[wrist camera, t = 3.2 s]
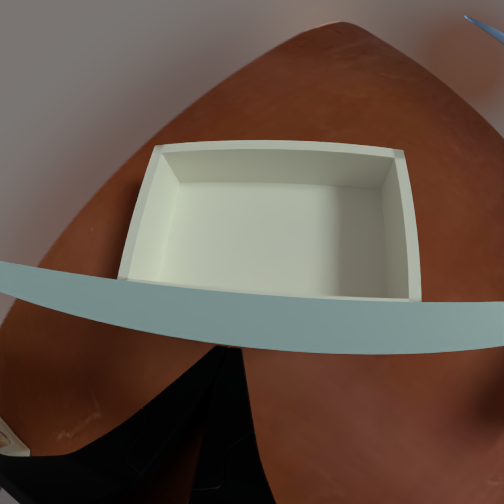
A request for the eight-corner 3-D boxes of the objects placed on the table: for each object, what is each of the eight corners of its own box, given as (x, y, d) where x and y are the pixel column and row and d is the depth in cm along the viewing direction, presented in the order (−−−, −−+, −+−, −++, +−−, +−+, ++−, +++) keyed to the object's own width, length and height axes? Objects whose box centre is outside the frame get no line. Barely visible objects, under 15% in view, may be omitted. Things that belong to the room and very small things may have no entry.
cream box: (392, 323, 18) (421, 313, 14) (150, 303, 21) (115, 289, 17) (386, 187, 22) (403, 150, 17) (177, 180, 25) (155, 145, 20)
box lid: (429, 312, 13) (428, 323, 13) (107, 287, 16) (106, 296, 16) (608, 294, 2) (608, 322, 2) (-62, 248, 5) (-64, 265, 5)
